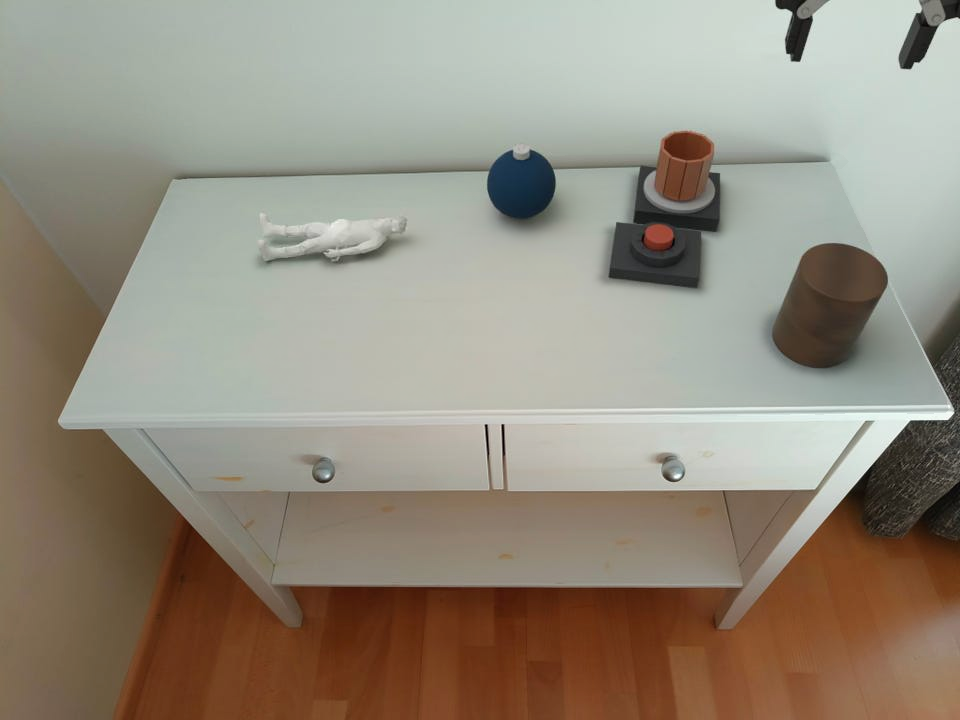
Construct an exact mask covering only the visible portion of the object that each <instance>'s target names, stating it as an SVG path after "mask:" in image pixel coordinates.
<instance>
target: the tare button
mask: <svg viewBox="0 0 960 720" xmlns="http://www.w3.org/2000/svg"><path fill="white" fill-rule="evenodd" d="M673 237H674V233H673V231H672V230H671V229H670V228H669V227H667V226H665V225H660V224H656V225H652V226H650V227H648V228H647V229H646V231H645V237H644V244H645V245H646V247H647V248H649V249H651V250H653V251H665V250H668V249H669V248H670V247H671V246H672V242H673Z"/></svg>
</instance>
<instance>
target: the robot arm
mask: <svg viewBox="0 0 960 720" xmlns="http://www.w3.org/2000/svg"><path fill="white" fill-rule="evenodd" d="M829 1H830V0H774V3H775V4H774V5H775V7H776V8H777V9H778V10H787V11H789V12H791V16H790V20H789V23H788V27H787V30H786V34H785V38H784V48H785V54H786V55H789V57H790V59H789V60H790V62H791V63H794V62H795V63H801V60H802V59H803V58H802V57H803V54H804V52H805V47H806V44H807V41H808V39H809V34H810V32H811V28H812V25H813V23H814V14H815V13H817V11H818V10H820V9H821V8H822V7H823V6H824V5H825V4H827V3H828V2H829ZM918 2H919V5H920V8H921V11H920V12H915V15H914V17H913V20H912V21H911V24H910V27H909V29H908V31H907V34H906V37H905V38H904V40H903V43H902V45H901V48H900V51H899V53H898V57H897V59H898V64H899V68H900V69H901V70H912V69H913V67H914V65H915V63H916V64H920V63H921V61H923V60H924V59H925V57H926V55H927V53H928V50H929V48H930V45H932V42H933V39H934V37H935V35H936V33H937V31H938V28H939V27H940V25H941V24H943V23H944V22H946V21H948V20H952V19H959V20H960V0H918Z"/></svg>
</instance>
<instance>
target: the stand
mask: <svg viewBox="0 0 960 720" xmlns="http://www.w3.org/2000/svg"><path fill="white" fill-rule="evenodd" d="M888 284H889V276H888V272H887V270H886V268H885V266H884V265H883V264H882V263H881V261H880V260H879V259H878V258H876V256H874V255H872V254H871V253H870V252H868V251H867V250H864V249H862V248H859V247H857V246H854V245H851V244H847V243H840V242H825V243H821V244H817V245H814V246H812V247H810V248H808V249H807V250H806V251H805V252H804V253H803V254H802V256H801V257H800V259H799V263H798V264H797V267H796V270H795V271H794V274H793V277H792V279H791V281H790V284H789V287H788V289H787V292H786V293H785V296H784V299H783V301H782V304H781V306H780V309H779V311H778V313H777V316H776V318H775V320H774V323H773V325H772V328H771V334H772V335H771V336H772V339H773V342H774V345H775V346H776V347H777V349H778V350H779V351H780V353H782V354H783V356H785V357H787V358H788V359H789V360H791V361H792V362H795V363H798V364H800V365H802V366H806V367H810V368H815V369H816V368H817V369H826V368H831V367H835V366H837V365H840V364H841V363H843V362H844V361H845V360H846V359H847V358H848V357H849V356H850V354H851V352H852V351H853V348H854V347H855V345H856V343H857V341H858V339H859V338H860V336H861V334H862V332H863V331H864V329H865V328H866V325H867V323H868V322H869V320H870V318H871V316H872V315H873V312H874V311H875V309H876V307H877V305H878V304H879V302H880V300H881V298H882V297H883V295H884V293H885V291H886V290H887V287H888Z"/></svg>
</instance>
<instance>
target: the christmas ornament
mask: <svg viewBox="0 0 960 720" xmlns="http://www.w3.org/2000/svg"><path fill="white" fill-rule="evenodd" d="M556 187H557V179H556V173H555V171H554V169H553V166H552V164H551V163H550V162H549V160H548V159H547V158H546V157H545V156H544V155H543V154H541V153H540V152H538V151H535V150H533V149H531V147H530V146H529V145H528V144H525V143H518V144H515V145H514V146H513V148H512V149H511V150H507V151H506V152H504V153H502V154H501V155H499V157H498V158H497V159H495V161H494V162H493V163H492V165H491V167H490V169H489V170H488V174H487V179H486V190H487V194H488V197H489V200H490V202H491V203H492V205H493V206H494V207H495V209H496V210H497V211H498V212H500V213H501V214H502V215H504V216H506V217H508V218H511V219H515V220H527V219H531V218H534V217H536V216H538V215H539V214H541V213H542V212H544V211H545V210H546V209H547V208H548V207H549V205H550V204H551V203H552V201H553V198H554V197H555V193H556Z"/></svg>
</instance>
